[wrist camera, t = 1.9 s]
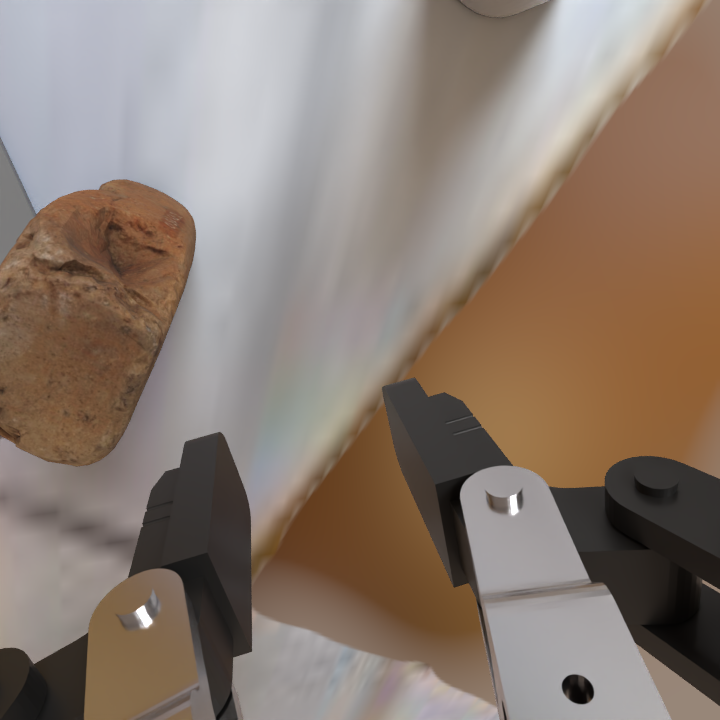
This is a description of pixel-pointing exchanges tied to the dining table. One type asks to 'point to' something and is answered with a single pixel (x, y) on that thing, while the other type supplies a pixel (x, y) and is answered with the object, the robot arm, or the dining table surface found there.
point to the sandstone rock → (88, 316)
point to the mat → (11, 205)
